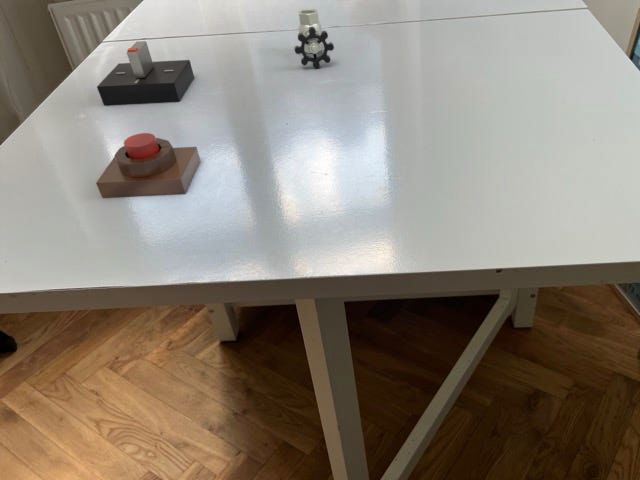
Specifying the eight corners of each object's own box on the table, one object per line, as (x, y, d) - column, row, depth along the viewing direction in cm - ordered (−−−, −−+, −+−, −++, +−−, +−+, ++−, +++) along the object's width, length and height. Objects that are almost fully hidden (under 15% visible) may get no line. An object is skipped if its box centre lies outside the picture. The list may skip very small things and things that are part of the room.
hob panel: (103, 105, 87) (96, 85, 85) (124, 81, 95) (118, 62, 92) (179, 101, 87) (173, 81, 85) (194, 77, 94) (189, 58, 92)
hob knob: (144, 66, 91) (135, 39, 88) (154, 66, 91) (145, 39, 88) (135, 78, 87) (125, 50, 84) (145, 77, 87) (136, 50, 84)
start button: (124, 161, 65) (119, 147, 64) (134, 146, 68) (129, 133, 67) (154, 159, 65) (150, 146, 64) (163, 145, 68) (158, 132, 67)
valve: (294, 48, 103) (297, 70, 95) (288, 9, 99) (291, 30, 90) (329, 44, 104) (335, 67, 95) (325, 6, 100) (332, 26, 91)
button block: (102, 199, 66) (89, 169, 63) (124, 165, 72) (113, 137, 69) (185, 195, 66) (176, 165, 63) (201, 161, 72) (192, 133, 69)
